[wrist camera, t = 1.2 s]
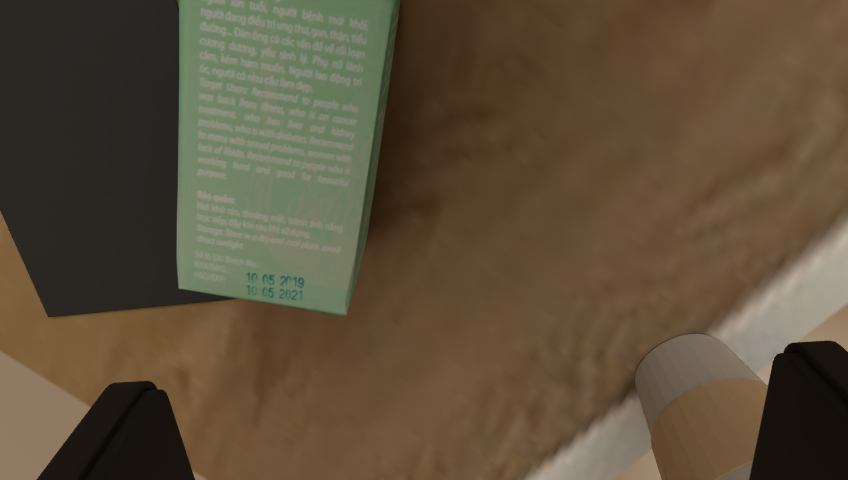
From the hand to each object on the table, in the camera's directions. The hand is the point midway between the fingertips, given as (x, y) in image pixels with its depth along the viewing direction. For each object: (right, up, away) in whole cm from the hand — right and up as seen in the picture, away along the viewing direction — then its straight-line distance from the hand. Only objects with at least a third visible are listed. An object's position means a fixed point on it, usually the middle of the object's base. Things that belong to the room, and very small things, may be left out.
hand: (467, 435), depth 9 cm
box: (-6, +9, +20) cm, 23 cm away
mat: (-17, +8, +20) cm, 28 cm away
